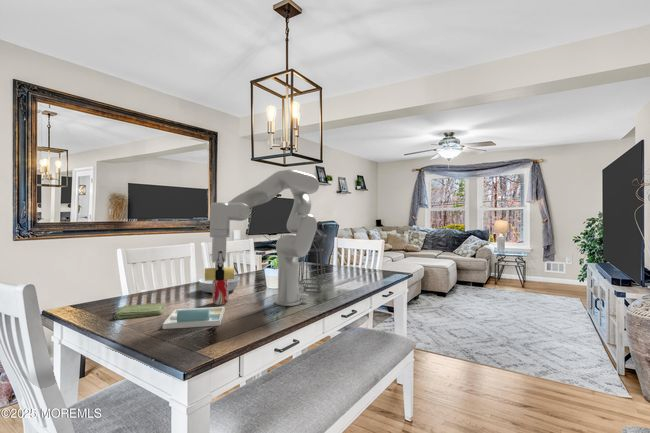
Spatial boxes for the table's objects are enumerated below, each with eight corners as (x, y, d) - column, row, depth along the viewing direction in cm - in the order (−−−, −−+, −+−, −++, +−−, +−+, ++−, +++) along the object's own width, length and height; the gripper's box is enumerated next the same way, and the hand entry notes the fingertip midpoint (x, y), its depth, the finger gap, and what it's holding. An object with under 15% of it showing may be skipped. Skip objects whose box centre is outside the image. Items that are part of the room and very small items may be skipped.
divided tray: (224, 310, 146) (224, 306, 146) (219, 325, 128) (219, 320, 128) (175, 313, 143) (175, 309, 142) (162, 329, 124) (162, 324, 124)
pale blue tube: (210, 313, 134) (208, 306, 131) (208, 324, 130) (207, 317, 127) (180, 315, 131) (178, 307, 128) (178, 326, 128) (176, 319, 125)
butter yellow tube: (232, 277, 141) (233, 266, 140) (234, 280, 136) (234, 268, 136) (204, 278, 137) (204, 267, 136) (204, 282, 132) (205, 269, 132)
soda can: (223, 305, 154) (223, 279, 154) (209, 305, 155) (209, 278, 155) (231, 301, 161) (231, 276, 161) (217, 300, 162) (217, 275, 162)
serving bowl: (190, 292, 178) (190, 279, 178) (222, 285, 196) (222, 273, 195) (215, 298, 166) (215, 284, 166) (248, 290, 184) (247, 277, 184)
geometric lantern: (295, 293, 178) (294, 226, 178) (301, 287, 194) (300, 225, 194) (325, 293, 176) (324, 225, 176) (329, 287, 192) (328, 225, 192)
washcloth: (163, 316, 141) (163, 308, 141) (113, 321, 133) (113, 313, 133) (163, 307, 153) (163, 300, 152) (117, 312, 145) (117, 305, 145)
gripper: (209, 232, 143) (208, 275, 143) (210, 234, 127) (210, 283, 127) (227, 232, 145) (227, 274, 146) (231, 234, 130) (230, 282, 130)
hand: (219, 278), depth 136 cm, fingers closed on butter yellow tube, 4 cm apart
